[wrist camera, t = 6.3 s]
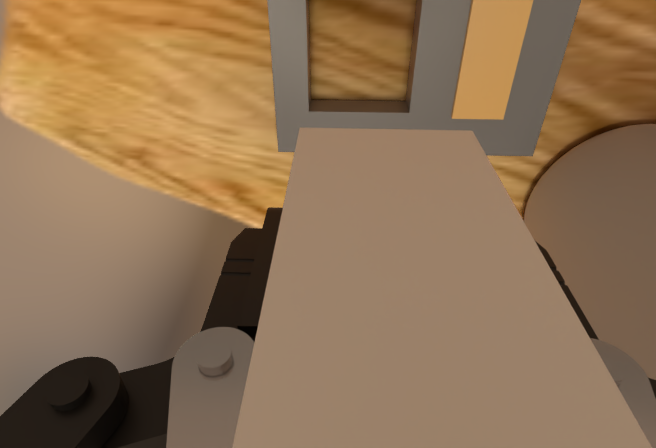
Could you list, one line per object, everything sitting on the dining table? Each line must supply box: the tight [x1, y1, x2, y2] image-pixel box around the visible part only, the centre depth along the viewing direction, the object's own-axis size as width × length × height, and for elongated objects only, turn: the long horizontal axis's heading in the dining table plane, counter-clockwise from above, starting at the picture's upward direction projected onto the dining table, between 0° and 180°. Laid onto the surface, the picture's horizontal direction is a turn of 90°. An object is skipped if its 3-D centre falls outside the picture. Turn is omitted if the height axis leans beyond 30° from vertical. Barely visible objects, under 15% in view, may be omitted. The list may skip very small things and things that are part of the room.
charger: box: [232, 128, 652, 448], centre depth 8 cm, size 4×5×9 cm
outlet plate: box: [267, 0, 581, 156], centre depth 25 cm, size 16×12×2 cm
